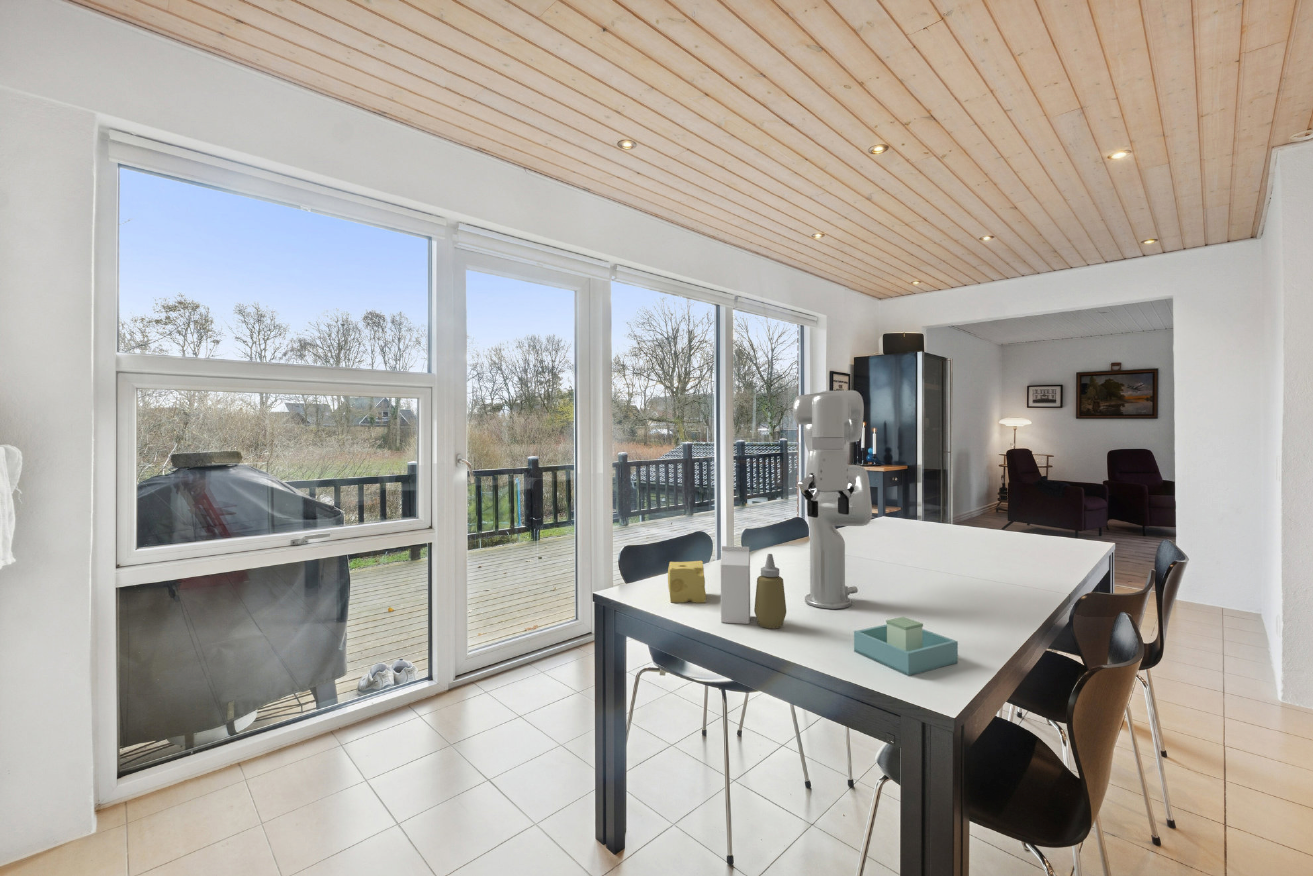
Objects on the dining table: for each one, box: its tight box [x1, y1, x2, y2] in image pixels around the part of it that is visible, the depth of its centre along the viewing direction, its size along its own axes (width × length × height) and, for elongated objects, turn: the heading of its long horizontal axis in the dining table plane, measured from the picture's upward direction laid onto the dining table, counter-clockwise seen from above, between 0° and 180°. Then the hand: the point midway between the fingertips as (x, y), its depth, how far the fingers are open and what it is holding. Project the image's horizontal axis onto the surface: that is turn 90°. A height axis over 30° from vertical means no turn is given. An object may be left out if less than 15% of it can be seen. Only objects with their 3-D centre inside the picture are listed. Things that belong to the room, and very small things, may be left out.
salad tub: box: [885, 616, 924, 651], centre depth 127 cm, size 5×5×7 cm
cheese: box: [667, 560, 707, 604], centre depth 173 cm, size 10×11×10 cm
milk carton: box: [720, 545, 751, 625], centre depth 153 cm, size 7×7×19 cm
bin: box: [853, 623, 959, 677], centre depth 127 cm, size 15×15×4 cm
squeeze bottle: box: [753, 553, 787, 629], centre depth 148 cm, size 8×8×18 cm
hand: (828, 515), depth 143 cm, fingers open, 9 cm apart
